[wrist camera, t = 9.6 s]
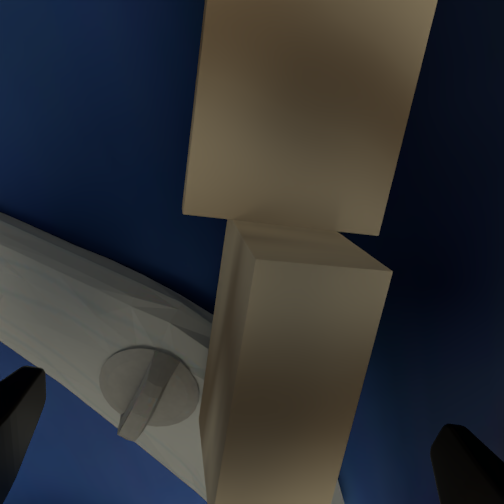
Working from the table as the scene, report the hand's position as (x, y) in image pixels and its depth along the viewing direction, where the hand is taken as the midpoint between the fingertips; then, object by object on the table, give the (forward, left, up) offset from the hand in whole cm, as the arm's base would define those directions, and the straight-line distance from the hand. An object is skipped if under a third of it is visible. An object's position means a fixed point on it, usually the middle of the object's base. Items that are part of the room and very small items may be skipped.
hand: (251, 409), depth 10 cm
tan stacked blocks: (+3, 0, -5) cm, 5 cm away
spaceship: (-6, +2, -7) cm, 10 cm away
